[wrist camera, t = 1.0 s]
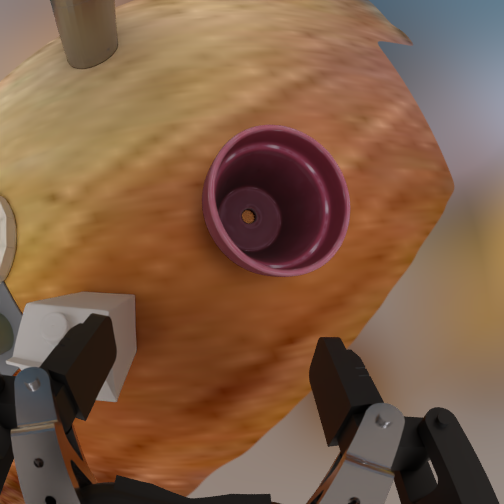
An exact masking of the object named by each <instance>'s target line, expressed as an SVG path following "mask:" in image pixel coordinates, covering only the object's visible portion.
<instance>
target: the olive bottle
mask: <svg viewBox="0 0 504 504" xmlns="http://www.w3.org/2000/svg"><path fill="white" fill-rule="evenodd" d="M13 342H14V334H13V330H12V327H11V324H10V323H9V321H8V319H7V318H6V317H5V316H4V315H2V314H1V313H0V355H1V354H3V353H5V352H7V351H9V350H10V349H11V348H12V346H13Z"/></svg>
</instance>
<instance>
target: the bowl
mask: <svg viewBox="0 0 504 504" xmlns="http://www.w3.org/2000/svg"><path fill="white" fill-rule="evenodd" d="M16 243H17V231H16V222H15V218H14V214H13V212H12V209H11V207H10V205H9V204H8V202H7V201H6V199H5V198H3V197H2V196H0V284H1V283H2V281H4V280H5V279H6V277H7V276H8V274H9V272H10V269H11V267H12V264H13V260H14V256H15V251H16Z"/></svg>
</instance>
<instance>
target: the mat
mask: <svg viewBox="0 0 504 504" xmlns="http://www.w3.org/2000/svg"><path fill="white" fill-rule="evenodd" d="M0 313H1V314H2V315H4V316H5V317H6V318H7V319H8V321H9V323H10V324H11V327H12V330H13V334H14V342H13V346H12V348H11V349H10V350H9V351H7V352H5V353H3V354H1V355H0V373H1V374H2V375H9V376H12V375H13V374H14V373H15V372H16V371H17V370H18V369H19V367H17V366H13V365H9V364H6V360H8V359H10V358H12V357H13V352H14V347H15V343H16V339H17V335H18V331H19V327H20V323H21V319H22V316H23V314H22V313H21V311H20V309H19V308H18V306H17V304H16V303H15V301H14V299H13V297H12V296H11V294H10V292H9V290H8V288H7V286H6V284H5V282H4V281H2V283H1V284H0Z"/></svg>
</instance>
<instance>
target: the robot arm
mask: <svg viewBox="0 0 504 504" xmlns="http://www.w3.org/2000/svg"><path fill="white" fill-rule="evenodd" d="M50 1H51V5H52V9H53V12H54V17H55V21H56V24H57V28H58V31H59V34H60V38H61V41H62V44H63V48H64V51H65V54H66V57H67V60H68V62H69V64H70V65H71V66H72V67H75V68H88V67H92V66H95V65H97V64H99V63H101V62H103V61H105V60H106V59H108V58H109V57H110V56H111V55H112V54H113V53H114V52H115V50H116V49H117V46H118V38H117V27H116V15H115V0H50ZM116 356H117V347H116V341H115V336H114V331H113V325H112V320H111V318H110V317H109V316H105V315H100V314H95V313H92V314H90V315H89V317H88V318H87V319H86V320H85V321H84V323H79V324H77V325H76V326H74V327H72V328H71V329H69V331H68V332H67V333H66V334H65V335H64V337H63V338H62V339H61V340H60V341H59V343H58V345H56V346H55V348H54V349H53V350H52V351H51V353H50V354H49V355H48V357H47V358H46V359H45V360H44V362H43V363H42V364H41V366H40V367H29V368H26V369H24V370H22V371H21V372H19V373H18V375H17V376H9V375H2V374H1V373H0V494H1V491H2V488H3V485H4V483H5V480H6V477H7V474H8V472H9V469H10V467H11V464H12V462H13V459H14V460H15V465H16V470H17V474H18V479H19V483H20V487H21V490H22V494H23V497H24V501H25V504H280V503H276V502H271V496H270V494H228V495H221V496H213V497H205V498H195V499H193V498H187V497H184V496H181V495H178V494H176V493H173V492H170V491H168V490H165V489H163V488H161V487H158V486H156V485H154V484H150V483H146V482H141V481H137V480H133V479H129V478H126V477H122V476H119V475H117V476H116V480H115V483H114V482H105V483H98V482H97V481H96V479H95V477H94V475H93V474H92V472H91V470H90V469H89V467H88V464H87V462H86V459H85V457H84V454H83V451H82V449H81V446H80V443H79V440H78V437H77V434H76V431H75V428H74V425H73V424H72V423H73V421H74V419H75V417H76V418H78V419H81V420H84V421H86V419H87V417H88V415H89V413H90V411H91V409H92V407H93V405H94V402H95V400H96V398H97V396H98V394H99V392H100V390H101V388H102V386H103V384H104V382H105V380H106V378H107V376H108V374H109V372H110V371H111V369H112V367H113V365H114V363H115V360H116ZM309 380H310V384H311V388H312V391H313V395H314V398H315V402H316V405H317V409H318V412H319V416H320V420H321V423H322V426H323V430H324V434H325V438H326V441H327V444H328V447H329V446H337V445H339V448H340V453H339V454H338V456H337V457H336V459H335V461H334V462H333V464H332V466H331V467H330V469H329V471H328V472H327V474H326V476H325V477H324V479H323V480H322V482H321V484H320V485H319V487H318V488H317V490H316V491H315V493H314V494H313V495H312V496H311V498H310V499H309V500H308V502H307V503H306V504H384V503H385V500H386V498H387V495H388V493H389V490H390V488H391V485H392V483H393V480H394V482H395V485H396V488H397V491H398V494H399V498H400V501H401V504H499V502H498V499H497V497H496V495H495V493H494V490H493V488H492V486H491V484H490V481H489V479H488V477H487V475H486V473H485V471H484V469H483V467H482V465H481V463H480V461H479V459H478V457H477V455H476V453H475V451H474V449H473V447H472V446H471V444H470V442H469V440H468V438H467V436H466V435H465V433H464V431H463V429H462V428H461V426H460V424H459V422H458V421H457V419H456V417H455V416H454V414H452V413H451V412H450V411H449V410H447V409H444V408H440V407H437V408H432V409H430V410H429V411H428V412H427V414H426V415H425V416H424V418H418V417H405V416H403V414H402V412H401V411H400V410H399V409H398V408H396V407H395V406H393V405H391V404H387V403H384V402H383V400H382V398H381V396H380V394H379V392H378V390H377V388H376V386H375V385H374V382H373V381H372V379H371V377H370V376H369V373H368V371H367V369H365V366H364V364H363V362H362V360H361V358H360V357H359V356H358V355H357V354H355V353H354V352H353V351H352V350H346V348H345V346H344V344H343V342H342V340H341V339H340V338H339V337H320V338H319V340H318V343H317V346H316V349H315V353H314V356H313V359H312V362H311V366H310V370H309ZM429 460H431V462H432V464H433V467H434V469H435V471H436V474H437V476H438V485H437V483H436V480H435V478H434V475H433V473H432V470H431V468H430V465H429V463H428V461H429Z"/></svg>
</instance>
